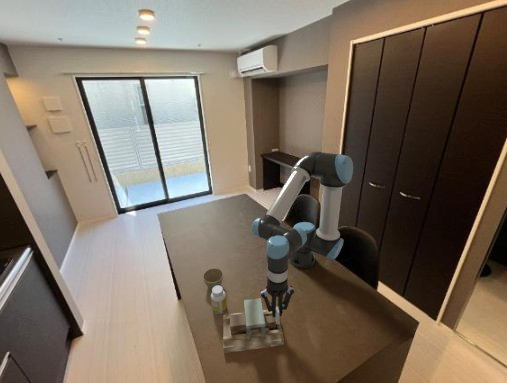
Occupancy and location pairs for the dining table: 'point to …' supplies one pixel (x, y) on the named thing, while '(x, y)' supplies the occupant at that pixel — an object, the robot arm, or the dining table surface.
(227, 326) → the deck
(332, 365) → the dining table surface
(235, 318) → the tan wooden bar
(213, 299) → the pill bottle
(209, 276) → the flower pot
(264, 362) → the dining table surface
